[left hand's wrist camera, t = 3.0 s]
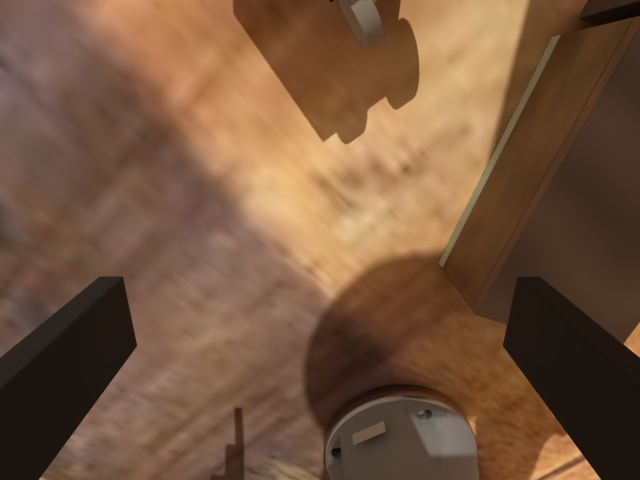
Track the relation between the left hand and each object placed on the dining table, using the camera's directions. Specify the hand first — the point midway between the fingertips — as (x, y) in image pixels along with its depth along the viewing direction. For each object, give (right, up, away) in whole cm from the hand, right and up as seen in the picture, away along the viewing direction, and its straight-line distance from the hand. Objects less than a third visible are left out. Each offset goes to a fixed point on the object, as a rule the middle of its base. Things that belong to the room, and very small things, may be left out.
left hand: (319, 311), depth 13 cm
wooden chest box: (+18, +7, +17) cm, 26 cm away
